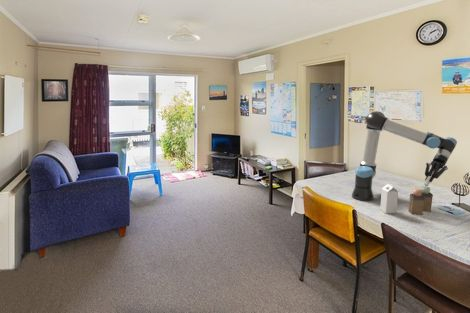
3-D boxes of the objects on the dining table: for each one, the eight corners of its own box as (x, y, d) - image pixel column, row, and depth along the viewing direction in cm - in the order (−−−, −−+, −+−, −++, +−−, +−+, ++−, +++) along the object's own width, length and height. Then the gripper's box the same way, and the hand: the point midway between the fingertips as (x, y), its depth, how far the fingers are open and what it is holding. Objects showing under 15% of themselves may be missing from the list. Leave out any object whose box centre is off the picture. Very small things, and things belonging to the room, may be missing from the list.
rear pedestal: (416, 207, 199) (418, 191, 197) (427, 208, 197) (429, 191, 195) (419, 211, 193) (421, 194, 190) (430, 212, 191) (432, 194, 189)
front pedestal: (408, 210, 194) (410, 193, 192) (419, 211, 192) (421, 194, 190) (411, 214, 188) (413, 196, 186) (422, 215, 186) (424, 197, 184)
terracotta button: (412, 194, 191) (412, 188, 190) (419, 195, 190) (420, 189, 189) (414, 196, 186) (414, 191, 186) (422, 197, 185) (423, 191, 184)
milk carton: (390, 209, 197) (392, 182, 193) (396, 213, 190) (399, 185, 186) (380, 209, 197) (382, 182, 193) (385, 213, 190) (388, 185, 186)
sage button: (420, 192, 196) (420, 186, 195) (428, 192, 194) (428, 186, 194) (422, 194, 191) (423, 188, 190) (430, 194, 190) (431, 188, 189)
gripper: (454, 162, 192) (438, 190, 187) (432, 159, 203) (417, 186, 198) (451, 155, 189) (434, 184, 184) (429, 152, 200) (413, 179, 195)
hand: (425, 185), depth 191 cm, fingers closed
